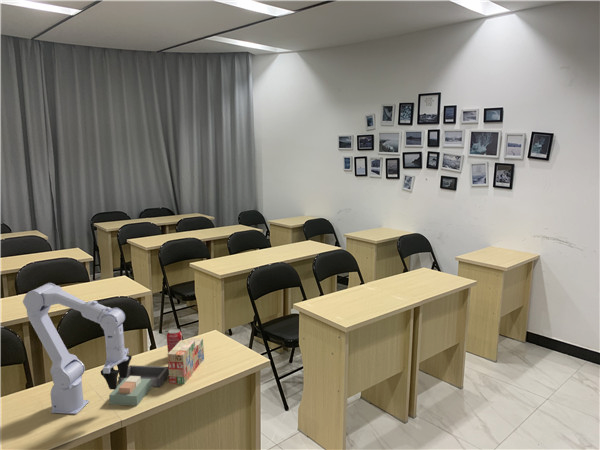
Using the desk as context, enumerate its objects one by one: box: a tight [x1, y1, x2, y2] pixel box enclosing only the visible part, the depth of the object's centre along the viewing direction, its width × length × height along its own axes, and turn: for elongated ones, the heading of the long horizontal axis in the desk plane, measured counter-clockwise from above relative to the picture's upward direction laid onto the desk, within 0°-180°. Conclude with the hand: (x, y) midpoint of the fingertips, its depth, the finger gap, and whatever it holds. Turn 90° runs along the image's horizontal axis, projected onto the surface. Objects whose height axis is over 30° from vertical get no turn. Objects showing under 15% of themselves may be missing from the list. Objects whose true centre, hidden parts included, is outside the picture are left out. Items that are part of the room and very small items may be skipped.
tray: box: [117, 364, 169, 388], centre depth 176 cm, size 16×10×3 cm, turn 85°
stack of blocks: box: [167, 337, 205, 385], centre depth 183 cm, size 21×6×12 cm, turn 172°
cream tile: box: [125, 376, 141, 387], centre depth 167 cm, size 4×4×2 cm
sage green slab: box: [108, 378, 153, 406], centre depth 165 cm, size 10×12×4 cm
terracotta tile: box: [119, 382, 135, 394], centre depth 162 cm, size 4×4×2 cm
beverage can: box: [166, 328, 183, 354], centre depth 194 cm, size 6×6×12 cm
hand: (118, 383), depth 155 cm, fingers open, 7 cm apart
